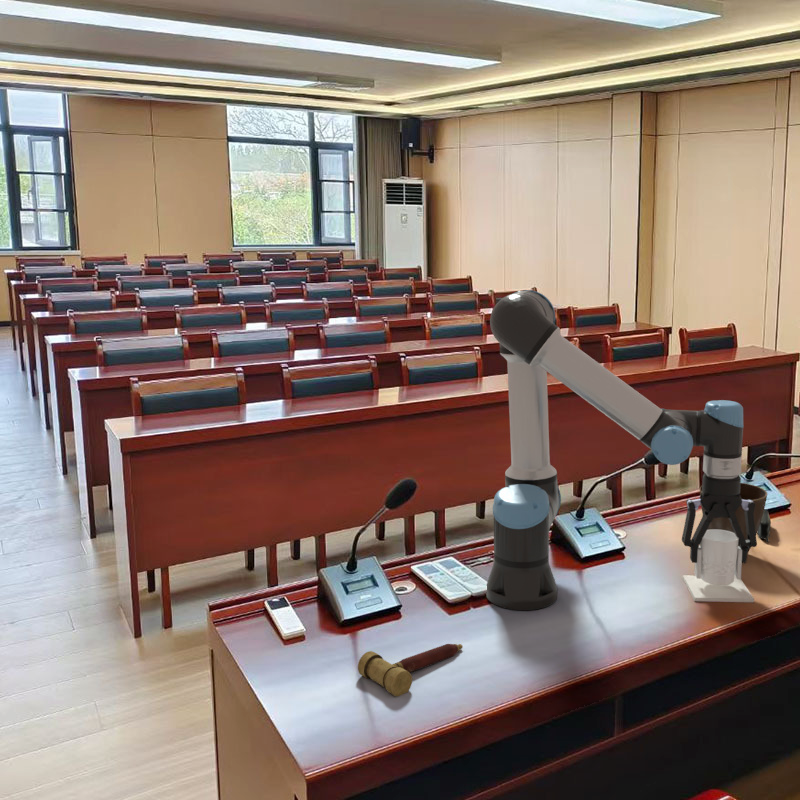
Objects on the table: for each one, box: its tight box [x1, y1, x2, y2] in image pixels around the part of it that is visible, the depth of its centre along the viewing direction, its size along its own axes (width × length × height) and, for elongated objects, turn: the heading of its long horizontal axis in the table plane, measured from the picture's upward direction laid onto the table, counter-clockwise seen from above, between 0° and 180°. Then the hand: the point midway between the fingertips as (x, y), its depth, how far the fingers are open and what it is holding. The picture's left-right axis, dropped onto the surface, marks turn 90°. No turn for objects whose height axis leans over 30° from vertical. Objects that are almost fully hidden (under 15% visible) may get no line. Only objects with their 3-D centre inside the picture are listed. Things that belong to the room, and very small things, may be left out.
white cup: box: [699, 529, 739, 585], centre depth 183 cm, size 8×8×10 cm
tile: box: [682, 574, 755, 603], centre depth 184 cm, size 12×12×1 cm
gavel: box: [357, 643, 463, 698], centre depth 155 cm, size 21×5×10 cm
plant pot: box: [699, 482, 768, 555], centre depth 202 cm, size 15×15×16 cm
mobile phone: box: [756, 508, 772, 543], centre depth 217 cm, size 5×3×15 cm
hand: (717, 576), depth 184 cm, fingers closed on white cup, 8 cm apart
